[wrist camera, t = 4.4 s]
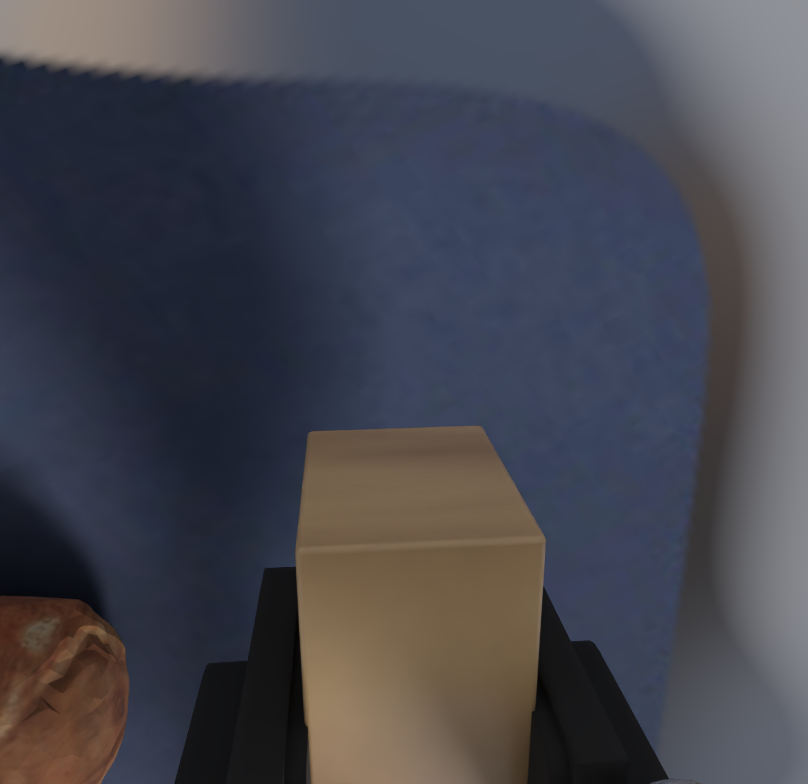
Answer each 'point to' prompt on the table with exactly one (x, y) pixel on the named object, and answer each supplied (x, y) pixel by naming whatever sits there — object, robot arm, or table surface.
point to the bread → (59, 692)
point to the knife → (416, 608)
